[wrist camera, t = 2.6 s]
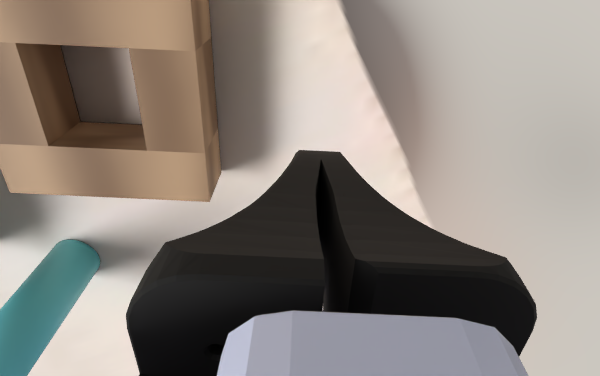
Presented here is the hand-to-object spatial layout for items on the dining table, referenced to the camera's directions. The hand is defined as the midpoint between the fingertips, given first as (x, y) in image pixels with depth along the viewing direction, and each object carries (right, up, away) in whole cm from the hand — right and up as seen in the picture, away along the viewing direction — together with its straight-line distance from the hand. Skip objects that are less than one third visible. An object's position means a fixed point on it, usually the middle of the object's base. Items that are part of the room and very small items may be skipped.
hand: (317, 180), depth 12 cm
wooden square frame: (-10, +5, +8) cm, 14 cm away
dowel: (-15, -5, +14) cm, 21 cm away
